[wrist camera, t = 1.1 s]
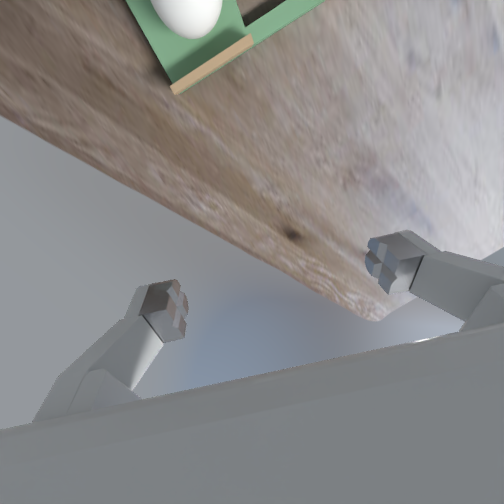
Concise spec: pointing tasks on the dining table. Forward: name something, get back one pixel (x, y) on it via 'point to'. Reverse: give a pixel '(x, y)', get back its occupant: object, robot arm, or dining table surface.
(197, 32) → the ball
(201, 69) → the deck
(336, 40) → the dining table surface
